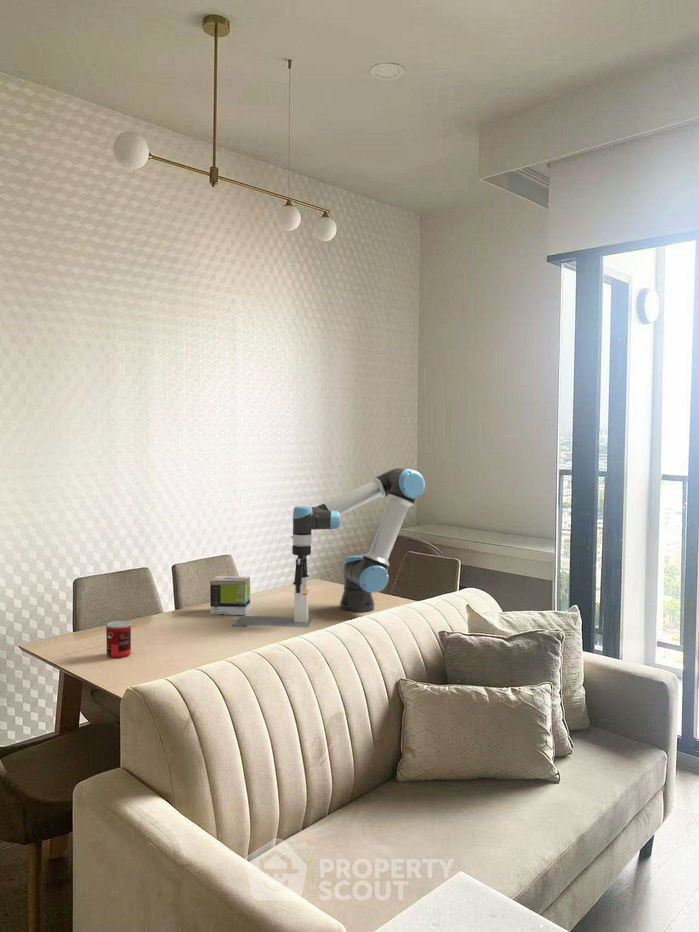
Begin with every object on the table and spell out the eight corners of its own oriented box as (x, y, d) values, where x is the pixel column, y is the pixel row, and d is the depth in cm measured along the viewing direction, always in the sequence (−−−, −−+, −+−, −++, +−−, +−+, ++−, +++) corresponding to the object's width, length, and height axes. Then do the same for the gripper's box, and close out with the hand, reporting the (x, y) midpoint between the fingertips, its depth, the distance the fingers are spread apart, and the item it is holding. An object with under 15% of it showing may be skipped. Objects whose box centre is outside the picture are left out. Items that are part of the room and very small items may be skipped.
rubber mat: (312, 619, 295) (312, 617, 295) (308, 628, 281) (308, 627, 281) (240, 616, 297) (240, 615, 297) (232, 626, 283) (232, 624, 283)
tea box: (250, 610, 309) (250, 576, 308) (244, 616, 299) (245, 580, 298) (216, 608, 310) (216, 575, 310) (209, 614, 300) (209, 579, 300)
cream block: (308, 619, 293) (308, 590, 292) (306, 622, 288) (306, 592, 287) (296, 618, 293) (296, 589, 292) (294, 622, 288) (294, 592, 288)
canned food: (109, 652, 249) (109, 620, 249) (133, 651, 250) (132, 620, 249) (103, 659, 242) (103, 626, 241) (128, 658, 242) (128, 626, 242)
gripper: (297, 539, 302) (295, 589, 302) (287, 549, 277) (286, 603, 278) (314, 540, 301) (313, 590, 302) (306, 549, 276) (305, 604, 277)
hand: (300, 597), depth 290 cm, fingers open, 13 cm apart
